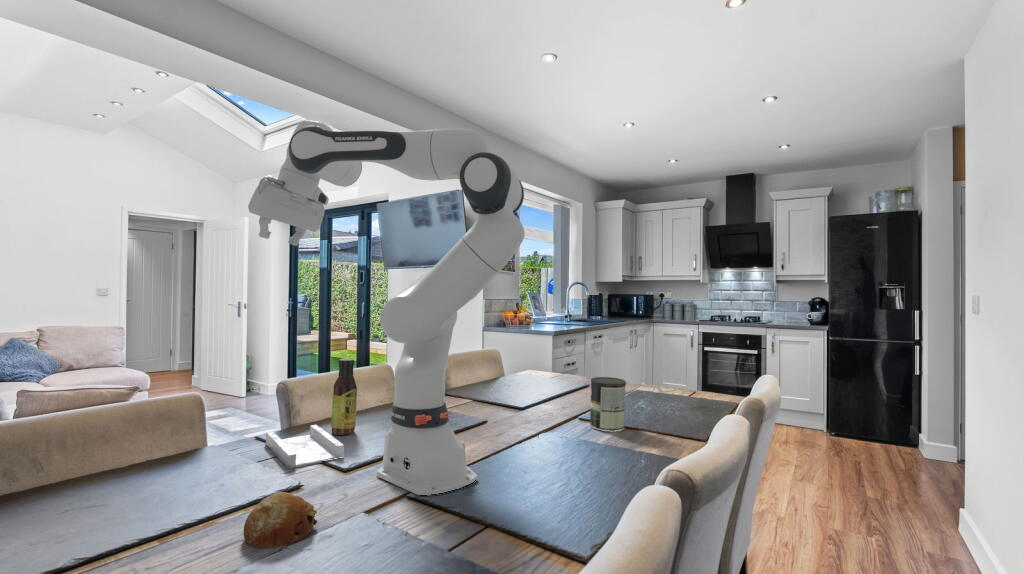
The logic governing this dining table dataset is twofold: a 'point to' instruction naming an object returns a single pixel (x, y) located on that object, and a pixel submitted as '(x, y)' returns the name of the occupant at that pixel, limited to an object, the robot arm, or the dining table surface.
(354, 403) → the sauce bottle
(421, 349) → the robot arm
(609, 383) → the coffee can
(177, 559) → the dining table surface
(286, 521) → the bread roll
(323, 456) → the track
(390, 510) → the dining table surface
